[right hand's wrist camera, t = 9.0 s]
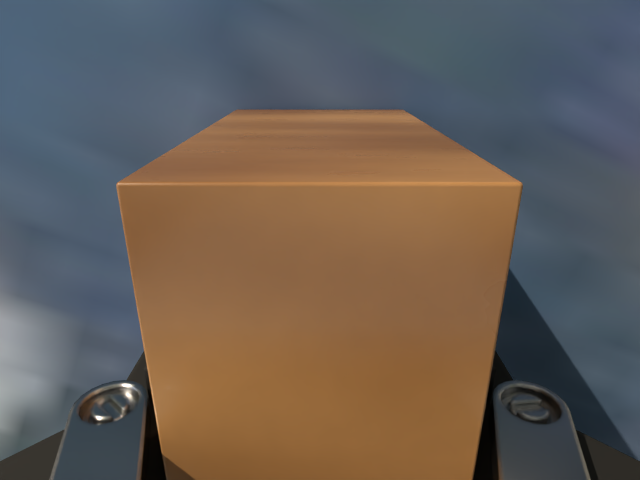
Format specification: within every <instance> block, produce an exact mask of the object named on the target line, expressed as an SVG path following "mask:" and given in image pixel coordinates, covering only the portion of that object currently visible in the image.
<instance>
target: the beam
mask: <svg viewBox="0 0 640 480" xmlns="http://www.w3.org/2000/svg"><path fill="white" fill-rule="evenodd" d="M116 187H117V193H118V199H119V204H120V210H121V216H122V222H123V228H124V234H125V240H126V246H127V252H128V257H129V263H130V269H131V275H132V281H133V287H134V293H135V299H136V305H137V310H138V316H139V322H140V328H141V334H142V340H143V346H144V352H145V358H146V363H147V369H148V375H149V381H150V387H151V393H152V399H153V405H154V411H155V416H156V422H157V428H158V434H159V440H160V446H161V452H162V458H163V464H164V469H165V475H166V480H473V477H474V471H475V465H476V459H477V453H478V447H479V442H480V436H481V430H482V424H483V418H484V412H485V406H486V400H487V394H488V388H489V383H490V377H491V371H492V365H493V359H494V353H495V347H496V341H497V335H498V329H499V324H500V318H501V312H502V306H503V300H504V294H505V288H506V282H507V276H508V270H509V265H510V259H511V253H512V247H513V241H514V235H515V229H516V223H517V217H518V211H519V206H520V200H521V194H522V188H523V185H522V183H521V182H520V181H518V180H516V179H515V178H513V177H512V176H510V175H508V174H507V173H505V172H503V171H502V170H500V169H499V168H497V167H495V166H494V165H492V164H490V163H489V162H487V161H486V160H484V159H482V158H481V157H479V156H477V155H476V154H474V153H473V152H471V151H469V150H468V149H466V148H464V147H463V146H461V145H460V144H458V143H456V142H455V141H453V140H451V139H450V138H448V137H447V136H445V135H443V134H442V133H440V132H438V131H437V130H435V129H434V128H432V127H430V126H429V125H427V124H425V123H424V122H422V121H421V120H419V119H417V118H416V117H414V116H412V115H411V114H409V113H408V112H406V111H404V110H235V111H234V112H232V113H230V114H229V115H227V116H226V117H224V118H222V119H221V120H219V121H217V122H216V123H214V124H213V125H211V126H209V127H208V128H206V129H204V130H203V131H201V132H199V133H198V134H196V135H195V136H193V137H191V138H190V139H188V140H186V141H185V142H183V143H181V144H180V145H178V146H177V147H175V148H173V149H172V150H170V151H168V152H167V153H165V154H163V155H162V156H160V157H159V158H157V159H155V160H154V161H152V162H150V163H149V164H147V165H145V166H144V167H142V168H141V169H139V170H137V171H136V172H134V173H132V174H131V175H129V176H128V177H126V178H124V179H123V180H121V181H119V182H118V183H117V186H116Z"/></svg>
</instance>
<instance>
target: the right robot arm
mask: <svg viewBox="0 0 640 480" xmlns="http://www.w3.org/2000/svg"><path fill="white" fill-rule="evenodd" d="M0 480H166V475H165V469H164V464H163V458H162V452H161V446H160V440H159V434H158V428H157V422H156V416H155V411H154V405H153V399H152V393H151V387H150V381H149V375H148V369H147V363H146V358H145V352H143V354H142V355H141V357H140V359H139V360H138V362H137V364H136V365H135V367H134V369H133V370H132V372H131V374H130V375H129V377H128V379H127V380H122V381H112V382H109V383H105V384H102V385H99V386H97V387H95V388H93V389H91V390H89V391H88V392H86V393H85V394H83V395H82V396H81V397H80V398H79V399H78V400H77V401H76V402H75V403H74V405H73V407H72V408H71V410H70V413H69V417H68V420H67V423H66V426H65V429H64V430H62V431H60V432H58V433H56V434H54V435H52V436H50V437H48V438H46V439H44V440H42V441H40V442H38V443H36V444H34V445H32V446H30V447H28V448H26V449H24V450H22V451H20V452H18V453H16V454H14V455H12V456H10V457H8V458H6V459H4V460H2V461H0ZM473 480H640V461H638V460H636V459H634V458H632V457H630V456H628V455H626V454H624V453H622V452H620V451H618V450H615V449H613V448H611V447H609V446H607V445H605V444H603V443H601V442H599V441H597V440H595V439H593V438H591V437H589V436H587V435H585V434H583V433H581V432H579V431H577V430H575V426H574V423H573V420H572V417H571V413H570V410H569V408H568V407H567V405H566V403H565V402H564V401H563V400H562V399H561V398H560V397H559V396H558V395H557V394H555V393H554V392H552V391H551V390H549V389H547V388H545V387H543V386H541V385H538V384H535V383H531V382H528V381H518V380H513V379H512V377H511V376H510V374H509V372H508V371H507V369H506V367H505V366H504V364H503V363H502V361H501V359H500V358H499V356H498V354H497V353H496V351H495V353H494V359H493V365H492V371H491V377H490V383H489V388H488V394H487V400H486V406H485V412H484V418H483V424H482V430H481V436H480V442H479V447H478V453H477V459H476V465H475V471H474V477H473Z"/></svg>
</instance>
